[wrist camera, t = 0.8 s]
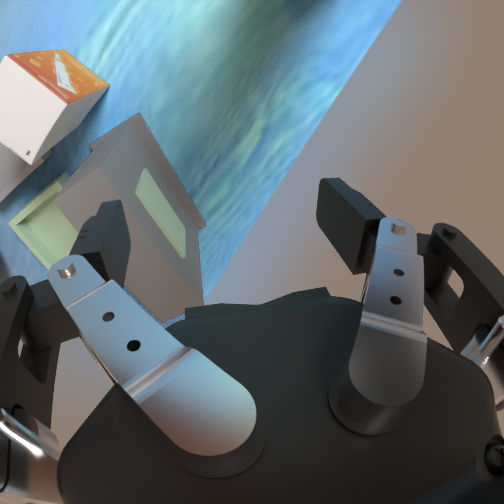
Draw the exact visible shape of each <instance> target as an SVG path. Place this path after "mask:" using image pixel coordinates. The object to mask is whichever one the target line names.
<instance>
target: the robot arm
mask: <svg viewBox="0 0 504 504" xmlns="http://www.w3.org/2000/svg"><path fill="white" fill-rule="evenodd" d="M316 217H317V222H318V225H319V227H320V228H321V230H322V231H323V233H324V234H325V235H326V237H327V238H328V239H329V241H330V242H331V244H332V245H333V246H334V248H335V249H336V251H337V252H338V253H339V255H340V256H341V258H342V259H343V261H344V262H345V263H346V265H347V266H348V268H349V269H350V270H351V272H352V274H353V275H355V274H361V273H366V274H367V275H366V278H365V281H364V285H363V290H362V293H361V297H360V301H359V302H358V301H356V300H352V299H348V298H343V297H336V296H330V294H329V292H328V290H327V288H326V287H321V288H315V289H310V290H304V291H298V292H293V293H290V294H288V295H285V296H283V297H280V298H277V299H275V300H272V301H269V302H267V303H264V304H261V305H247V304H245V305H244V304H223V303H220V304H213V305H206V306H198V307H190V308H185V319H184V320H181V321H179V322H176V323H174V324H172V325H170V326H169V327H167V328H165V329H164V328H163V327H162V326H161V325H160V324H159V323H157V322H156V321H155V320H154V319H153V318H152V317H151V316H150V315H149V314H148V313H147V312H146V311H145V310H144V309H142V308H141V307H140V306H139V305H138V304H137V303H136V302H135V301H134V300H133V299H132V298H131V297H130V296H129V295H128V294H127V293H126V292H125V291H124V290H123V288H124V282H125V277H126V271H127V266H128V260H129V255H130V250H131V239H130V234H129V230H128V225H127V221H126V217H125V213H124V209H123V205H122V202H121V200H120V199H118V200H112V201H106V202H102V203H101V205H100V207H99V209H98V211H97V214H96V216H91V217H90V218H89V219H88V220H87V221H86V222H85V223H84V224H83V225H82V228H81V230H80V233H79V234H78V236H77V239H76V240H75V242H74V245H73V247H72V249H71V251H70V253H69V256H66V257H64V258H62V259H60V260H58V261H57V262H55V263H54V264H53V265H52V266H51V268H50V269H49V271H48V275H47V276H48V279H47V280H44V281H42V282H39V283H37V284H34V285H31V286H29V284H28V282H27V280H26V278H25V277H23V276H13V277H11V278H9V279H7V280H5V281H4V282H3V283H2V284H1V285H0V500H3V501H5V502H8V503H10V504H504V439H503V436H502V433H501V430H500V427H499V423H498V418H497V412H496V411H500V410H502V409H504V276H503V275H502V273H501V272H500V271H499V270H498V269H497V268H496V267H495V266H494V265H493V263H492V262H491V261H490V260H489V259H488V258H487V257H486V256H485V255H484V254H483V253H482V252H481V251H480V250H479V249H478V248H477V247H476V246H475V245H474V244H473V243H472V242H471V241H470V240H469V239H468V238H467V237H466V236H465V235H464V234H463V233H462V232H461V231H460V230H458V229H457V228H455V227H453V226H451V225H448V224H445V223H437V224H435V225H434V226H433V230H432V233H431V235H428V234H421V233H417V231H416V228H415V227H414V226H413V225H412V224H411V223H409V222H408V221H406V220H404V219H401V218H397V217H386V216H385V215H384V214H383V213H382V212H381V211H380V210H379V209H378V208H377V207H376V206H375V205H373V204H372V203H371V202H370V201H369V200H368V199H367V198H366V197H365V196H364V195H362V193H360V192H358V191H356V190H354V189H352V188H351V187H349V186H348V185H347V184H346V183H345V182H344V181H343V180H341V179H340V178H323V179H321V181H320V184H319V193H318V202H317V211H316ZM453 269H454V270H455V271H456V273H457V274H458V275H459V276H460V277H461V279H462V280H463V284H464V290H463V293H462V295H461V297H460V298H459V297H458V296H457V295H456V293H455V292H454V291H453V289H452V288H451V287H450V285H449V284H448V283H447V282H448V280H449V278H450V275H451V273H452V271H453ZM424 305H425V306H426V308H427V309H428V311H429V312H430V314H431V315H432V317H433V319H434V320H435V321H436V323H437V325H438V326H439V328H440V329H441V331H442V332H443V334H444V336H445V337H446V338H447V340H448V341H449V343H450V345H451V347H452V348H453V350H454V351H453V350H451V349H449V348H447V347H445V346H444V345H442V344H440V343H438V342H436V341H434V340H432V339H430V338H428V337H427V336H426V333H424V332H423V314H424ZM78 336H79V337H80V339H81V340H82V341H83V343H84V345H85V346H86V347H87V349H88V351H89V352H90V353H91V355H92V356H93V358H94V359H95V361H96V362H97V363H98V365H99V366H100V367H101V369H102V370H103V371H104V373H105V374H106V376H107V377H108V378H109V380H110V381H111V383H112V384H113V385H114V386H113V387H112V388H111V389H110V391H109V392H108V393H107V394H106V395H105V397H104V398H103V399H102V400H101V402H100V403H99V404H98V405H97V407H96V408H95V409H94V410H93V411H92V413H91V414H90V415H89V416H88V418H87V419H86V420H85V421H84V423H83V424H82V425H81V427H80V428H79V429H78V430H77V432H76V433H75V434H74V435H73V437H72V438H71V439H70V440H69V442H68V443H67V444H66V446H65V447H64V449H63V451H62V453H61V451H60V445H59V441H58V439H57V437H56V435H55V434H54V433H53V432H52V431H51V430H50V429H51V413H52V402H53V392H54V384H55V376H56V369H57V362H58V356H59V350H60V343H62V342H64V341H67V340H70V339H73V338H76V337H78ZM20 339H21V341H22V342H23V347H22V351H21V355H20V358H19V355H18V344H19V341H20Z"/></svg>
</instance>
